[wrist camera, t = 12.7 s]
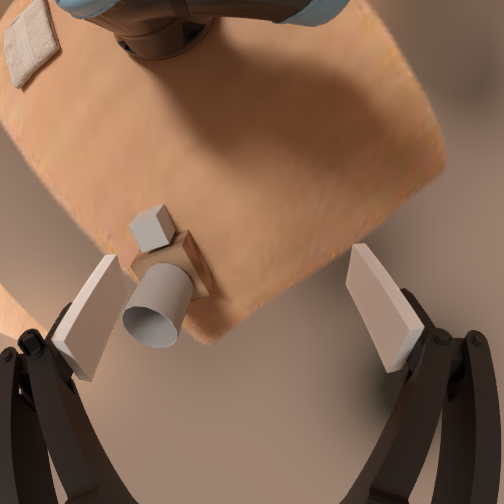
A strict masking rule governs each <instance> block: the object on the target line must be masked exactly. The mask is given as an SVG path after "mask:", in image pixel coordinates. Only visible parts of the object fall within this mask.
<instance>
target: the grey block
mask: <svg viewBox="0 0 504 504" xmlns="http://www.w3.org/2000/svg"><path fill="white" fill-rule="evenodd" d="M129 228H130V230H131V232H132V234H133V236H134V238H135V239H136V241H137V243H138V245H139V247H140V249H141V251H142V253H143V252H146V251H149V250H152V249H155V248H158V247H161V246H164V245H167V244H169V243H170V241H171V239H172V237H173V235H174V232H175V230H176V229H175V227H174V225H173V223H172V221H171V219H170V216H169V214H168V212H167V210H166V207H165V205H164V204H162V205H159V206H157V207H154V208H151V209H149V210H146V211H144V212H141V213H139V214H138V215H137V216H136V217H135V219H134V220H133V221H132V222H131V223H130V225H129Z"/></svg>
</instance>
